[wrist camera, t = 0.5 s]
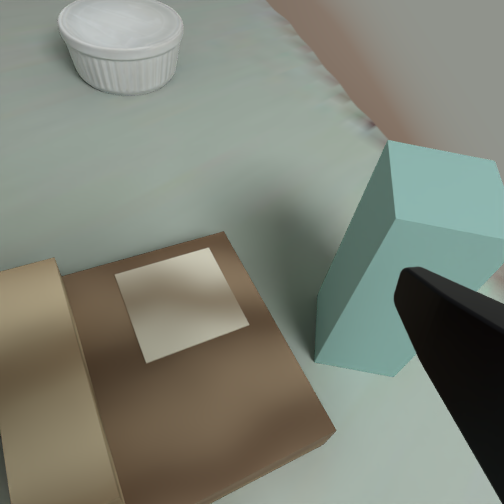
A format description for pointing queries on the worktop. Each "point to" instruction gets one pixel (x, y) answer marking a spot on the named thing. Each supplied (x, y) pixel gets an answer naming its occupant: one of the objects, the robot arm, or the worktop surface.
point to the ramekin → (122, 43)
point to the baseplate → (191, 374)
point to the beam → (49, 397)
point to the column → (407, 250)
